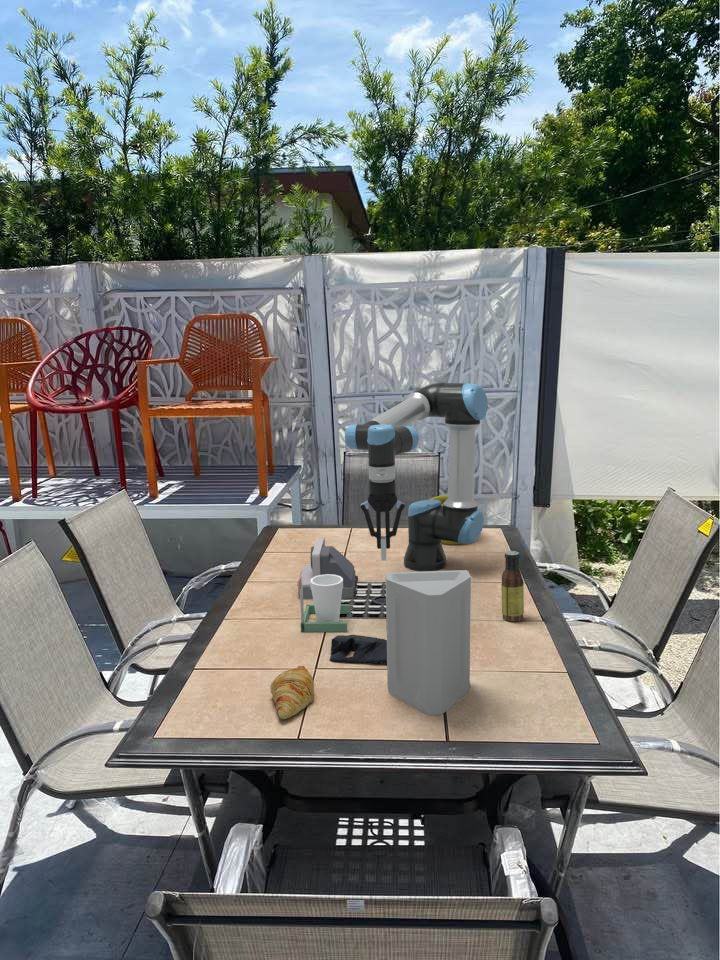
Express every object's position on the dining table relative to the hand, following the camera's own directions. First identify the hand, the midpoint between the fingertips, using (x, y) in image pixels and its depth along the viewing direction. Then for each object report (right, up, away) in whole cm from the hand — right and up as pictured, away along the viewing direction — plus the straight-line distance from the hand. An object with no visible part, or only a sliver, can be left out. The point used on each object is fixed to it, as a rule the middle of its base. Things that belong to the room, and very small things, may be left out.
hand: (383, 558), depth 204 cm
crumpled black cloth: (-3, -23, -19) cm, 30 cm away
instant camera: (-17, -13, +27) cm, 35 cm away
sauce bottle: (+37, -17, 0) cm, 41 cm away
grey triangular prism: (+9, -27, -43) cm, 52 cm away
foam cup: (-16, -19, 0) cm, 25 cm away
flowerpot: (+30, -1, +76) cm, 81 cm away
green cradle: (-17, -19, -1) cm, 25 cm away
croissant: (-23, -28, -41) cm, 55 cm away
